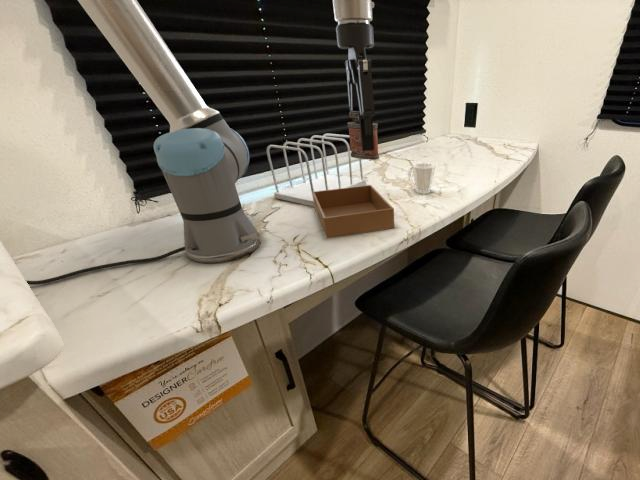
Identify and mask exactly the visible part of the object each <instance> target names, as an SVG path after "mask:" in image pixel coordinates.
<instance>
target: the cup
mask: <svg viewBox="0 0 640 480" xmlns="http://www.w3.org/2000/svg"><path fill="white" fill-rule="evenodd" d="M435 170H436V165H435V164H433V163H428V162H420V163H415V164H413V165H412V166H411V167H410V169H409V172H408V180H409V182H410V184H411V186H412V187H413V188H414V189H415V190H416V193H417V194H420V195H426V194H429V193H431V190H430V189H431V188H432V185H433V180H434V176H435ZM412 172H413V178H412ZM413 179H414V181H413Z"/></svg>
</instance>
